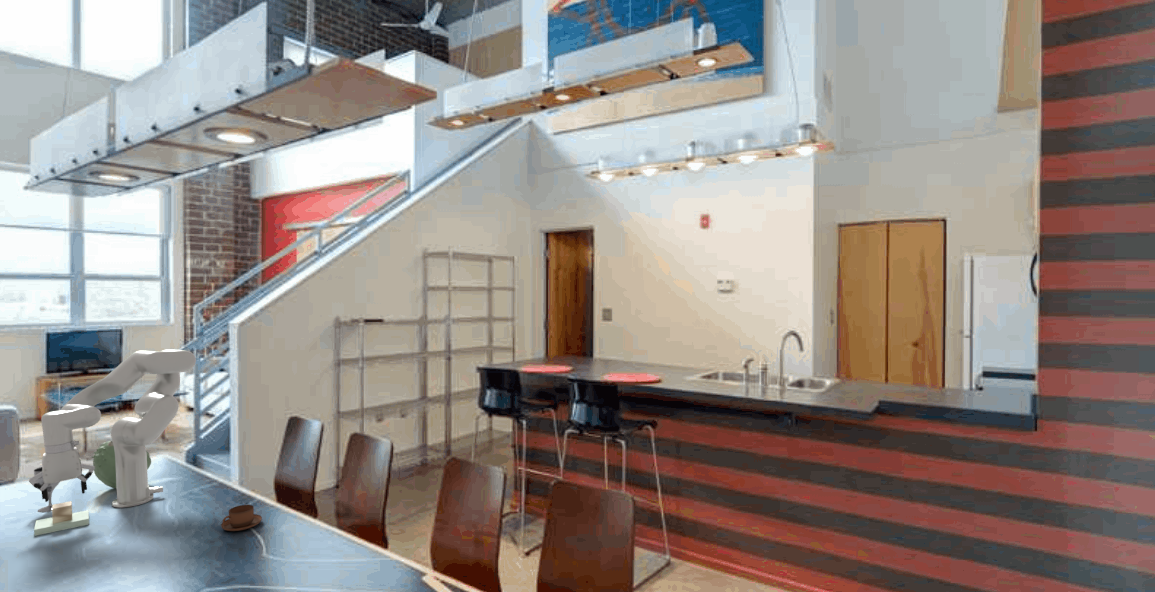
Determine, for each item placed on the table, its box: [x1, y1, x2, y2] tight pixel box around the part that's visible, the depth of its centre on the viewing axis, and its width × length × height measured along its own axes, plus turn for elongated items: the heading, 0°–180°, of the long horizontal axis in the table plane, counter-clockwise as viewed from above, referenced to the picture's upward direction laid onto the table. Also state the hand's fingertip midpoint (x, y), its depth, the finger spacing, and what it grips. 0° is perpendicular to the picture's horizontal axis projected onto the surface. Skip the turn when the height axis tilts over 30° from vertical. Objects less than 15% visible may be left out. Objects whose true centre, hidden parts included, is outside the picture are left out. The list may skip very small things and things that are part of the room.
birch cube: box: [51, 500, 73, 524], centre depth 210 cm, size 5×5×5 cm
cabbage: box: [91, 440, 152, 489], centre depth 247 cm, size 16×19×20 cm
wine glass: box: [33, 466, 61, 513], centre depth 225 cm, size 8×8×15 cm
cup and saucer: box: [220, 504, 263, 532], centre depth 207 cm, size 12×12×6 cm
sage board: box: [33, 509, 90, 537], centre depth 210 cm, size 14×10×2 cm
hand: (65, 496), depth 211 cm, fingers open, 9 cm apart
